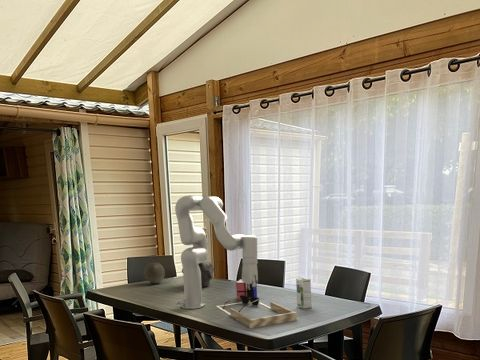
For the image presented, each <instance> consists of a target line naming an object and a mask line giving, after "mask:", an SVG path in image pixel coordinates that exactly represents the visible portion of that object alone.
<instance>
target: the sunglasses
mask: <svg viewBox="0 0 480 360" xmlns="http://www.w3.org/2000/svg"><path fill="white" fill-rule="evenodd" d="M238 297H240V298H241V300H240V301H241V302H242V303H241V304H243V305H244V306H242V307H241V308H240V310H238V312H240V313H241V311H242V309H244V308H245V307H247V306H249V305H252V306H256V307H258V306H259V302H260V297H258V296H257V297H251V298H248V297H247V296H245V295H240V296H238ZM238 297H237V296H236V297H234V298H232V299H230V300H228V301H225V303H224V304H223V305H224V306H222V307H223V308H222V309H224V310H225V307H226V306H225V305H227V304H228V303H229V302H231V301H234V300H235V299H236V300H237V298H238ZM249 301H250V302H249Z"/></svg>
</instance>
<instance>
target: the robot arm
mask: <svg viewBox="0 0 480 360" xmlns="http://www.w3.org/2000/svg"><path fill="white" fill-rule="evenodd" d="M223 207H224V203H223V200H222V199H221V198H219V197H218V196H210V195H200V194H199V195H196V194H195V195H192V194H191V195H184V196H182V197H179V199H178V200H177V201H176V203H175V206H174V208H175V209H174V211H175V216H176V219H177V226H178V232H179V237H180V241H181V243H182V244H183V245H184V246H192V247H187V248H184V250H183V251H182V252H181V254H180V262H181V265H182V268H183V273H182V276H183V292H184V293H183V298H182V299H181V300H176V301H175V305H181V308H182V309H186V310H195V309H201V308H204V307H205V306H206V303H205V302H204V301H203V293H202V292H203V290H202V289H203V287H201V271H200V268H199V265H198V264H199V263H203V262H205V261H206V260H209V259H208V258H209V247H208V240H207V236H206V232H205V231H204V229H203V228H202V227H200V226H195V221H194V218H193V216H192V213H190V212H194V211H202V212H203V214H204V215H205V216H206V218H207V219H208V220H209V222H211V224H212V225H213V227H214V233H215V236H216V239H217V240H218V241H219V243H220V244H221V245H222V247H223V248H224V249H226V250H228V251H232V252H234V251H237V250H242V251H241V252H242V256H241V257H242V264H241V265H242V266H241V279H242V281H243V282H244V283H245V284H246V288H247V297H248V298H251V297H254V287H256V284H258V283H259V282H258V281H259V277H258V275H259V274H258V273H259V271H258V237H257V236H256V235H253V234H252V235H245V234H242V233H238V234H233V235H232V234H231V233H230V231H229V230H228V228H227V227H226V221H228V216H227V214H226V213H225V212H224V211H223Z"/></svg>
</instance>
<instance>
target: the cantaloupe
mask: <svg viewBox="0 0 480 360" xmlns="http://www.w3.org/2000/svg"><path fill="white" fill-rule="evenodd" d="M165 272H166V271H165V268H164V266H163V265H162V264H161V263H159V262H155V261H154V262H151V263H150V262H149V263H148V264H147V265H146V266H145V267H144V270H143V275H144V278H145V279H146V280H147V281H148V282H149V283H151V284H152V285H153V284H155V285H156V284H157V285H158V284H160V283H161V282H162V281H164V279H165V274H166V273H165Z"/></svg>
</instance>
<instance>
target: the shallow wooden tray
mask: <svg viewBox="0 0 480 360" xmlns="http://www.w3.org/2000/svg"><path fill="white" fill-rule="evenodd" d="M269 305H270V306H269V307H271V309H270V310H272V311H274V312H276V313H278V314H275V315H270V316H263V317H258V318H250V317H248V316H247V315H245V314H243V313H242V312H241V311H240V312H239V310H237V309H235V308H233V307H230V308H229V313H230V315H229V316H230V317H231V318H234V319H235V320H236V321H238V322H240V323H241V324H243V325H245V326H246V327H247V328H249V329H254V328H255V327H256V328H260V327H261V328H262V327H266V325H267V326H271V325H277V324H283V323H287V322H294V321H297V320H298V319H297V312H296V311H294V310H292V309H290V308H287V307H285V306H283V305H281V304H278V303H276V302H274V301H270V302H269ZM256 328H255V329H256Z"/></svg>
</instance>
